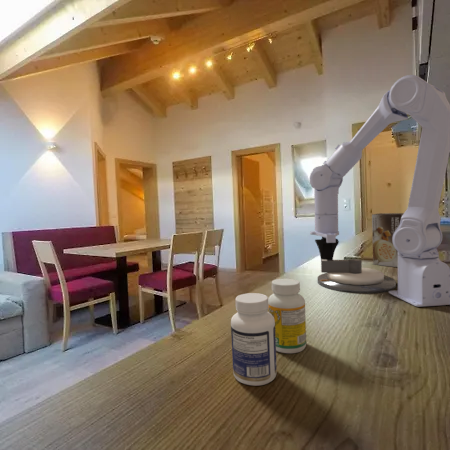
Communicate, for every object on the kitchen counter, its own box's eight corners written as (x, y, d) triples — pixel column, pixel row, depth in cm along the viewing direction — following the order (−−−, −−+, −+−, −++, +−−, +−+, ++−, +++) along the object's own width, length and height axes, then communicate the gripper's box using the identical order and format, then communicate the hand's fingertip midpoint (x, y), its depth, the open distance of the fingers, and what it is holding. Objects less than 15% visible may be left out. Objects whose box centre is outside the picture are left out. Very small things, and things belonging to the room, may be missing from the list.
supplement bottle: (310, 353, 43) (308, 285, 43) (271, 355, 43) (269, 287, 43) (301, 337, 49) (299, 276, 48) (266, 338, 49) (264, 277, 48)
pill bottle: (249, 359, 42) (246, 288, 42) (284, 371, 39) (282, 295, 38) (224, 377, 38) (220, 299, 38) (261, 392, 35) (258, 307, 34)
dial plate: (413, 290, 70) (413, 285, 70) (334, 295, 69) (334, 290, 69) (370, 272, 88) (370, 268, 88) (308, 276, 87) (307, 272, 87)
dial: (376, 272, 83) (376, 255, 83) (390, 285, 71) (390, 265, 70) (320, 271, 87) (319, 255, 86) (323, 284, 74) (322, 265, 74)
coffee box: (411, 264, 96) (411, 212, 95) (402, 268, 92) (402, 213, 91) (380, 261, 103) (380, 212, 102) (371, 264, 99) (371, 214, 98)
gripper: (307, 213, 88) (308, 261, 89) (313, 216, 74) (314, 273, 75) (333, 212, 87) (334, 261, 88) (344, 215, 73) (345, 273, 74)
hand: (326, 266), depth 81 cm, fingers closed
